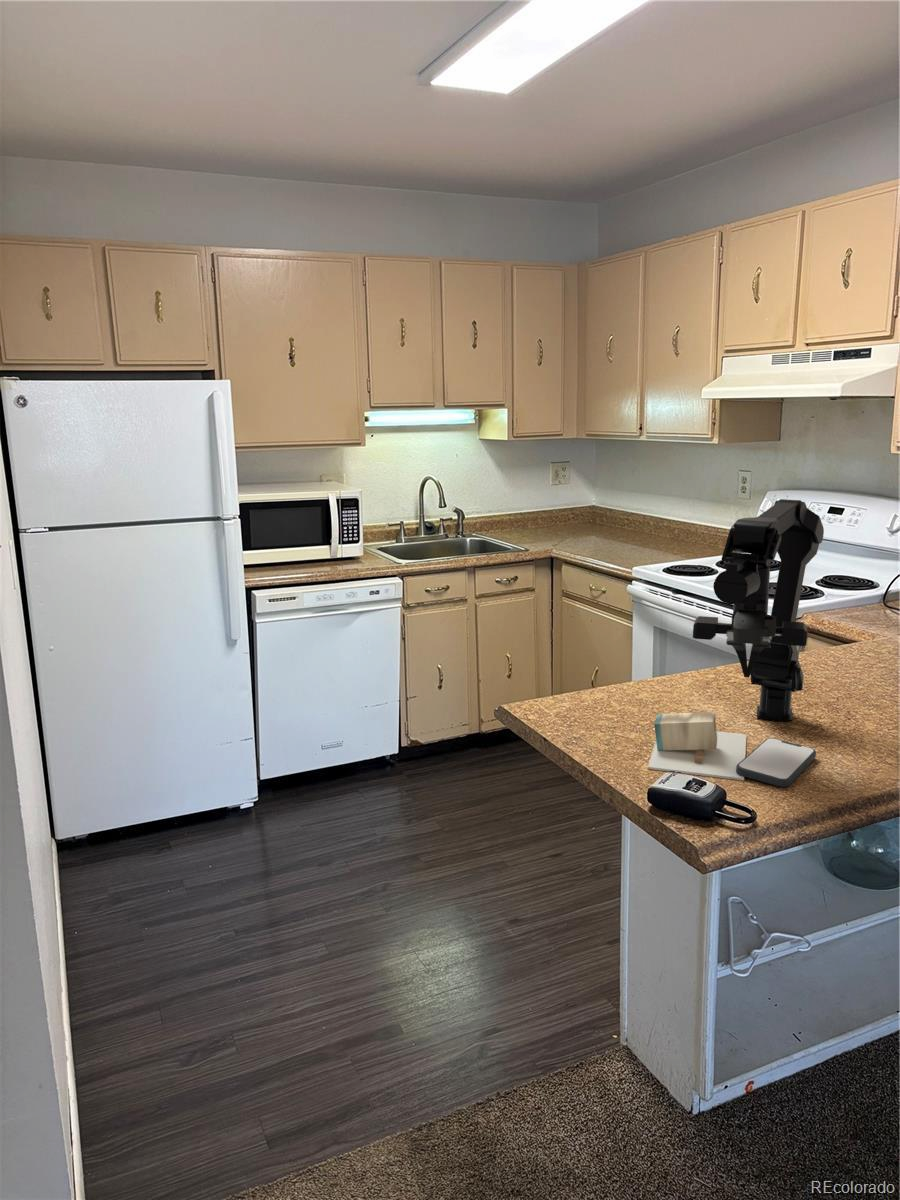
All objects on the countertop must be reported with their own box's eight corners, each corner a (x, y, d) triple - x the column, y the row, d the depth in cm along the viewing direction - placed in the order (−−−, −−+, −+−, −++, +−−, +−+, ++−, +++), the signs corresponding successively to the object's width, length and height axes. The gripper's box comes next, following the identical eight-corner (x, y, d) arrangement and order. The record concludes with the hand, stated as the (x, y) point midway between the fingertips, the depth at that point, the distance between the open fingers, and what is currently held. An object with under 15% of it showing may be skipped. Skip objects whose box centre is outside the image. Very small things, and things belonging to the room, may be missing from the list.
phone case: (786, 790, 137) (817, 757, 149) (787, 781, 136) (818, 749, 148) (732, 775, 142) (766, 744, 154) (733, 766, 142) (767, 736, 154)
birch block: (717, 738, 153) (660, 740, 157) (714, 712, 152) (657, 714, 156) (716, 749, 148) (657, 750, 152) (713, 721, 148) (654, 723, 151)
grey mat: (660, 727, 164) (660, 720, 164) (746, 736, 159) (746, 729, 158) (647, 768, 146) (647, 761, 145) (744, 780, 140) (744, 772, 140)
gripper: (691, 600, 145) (688, 687, 149) (810, 606, 139) (804, 697, 142) (697, 585, 155) (694, 667, 159) (808, 590, 149) (802, 675, 153)
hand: (746, 676), depth 153 cm, fingers closed
